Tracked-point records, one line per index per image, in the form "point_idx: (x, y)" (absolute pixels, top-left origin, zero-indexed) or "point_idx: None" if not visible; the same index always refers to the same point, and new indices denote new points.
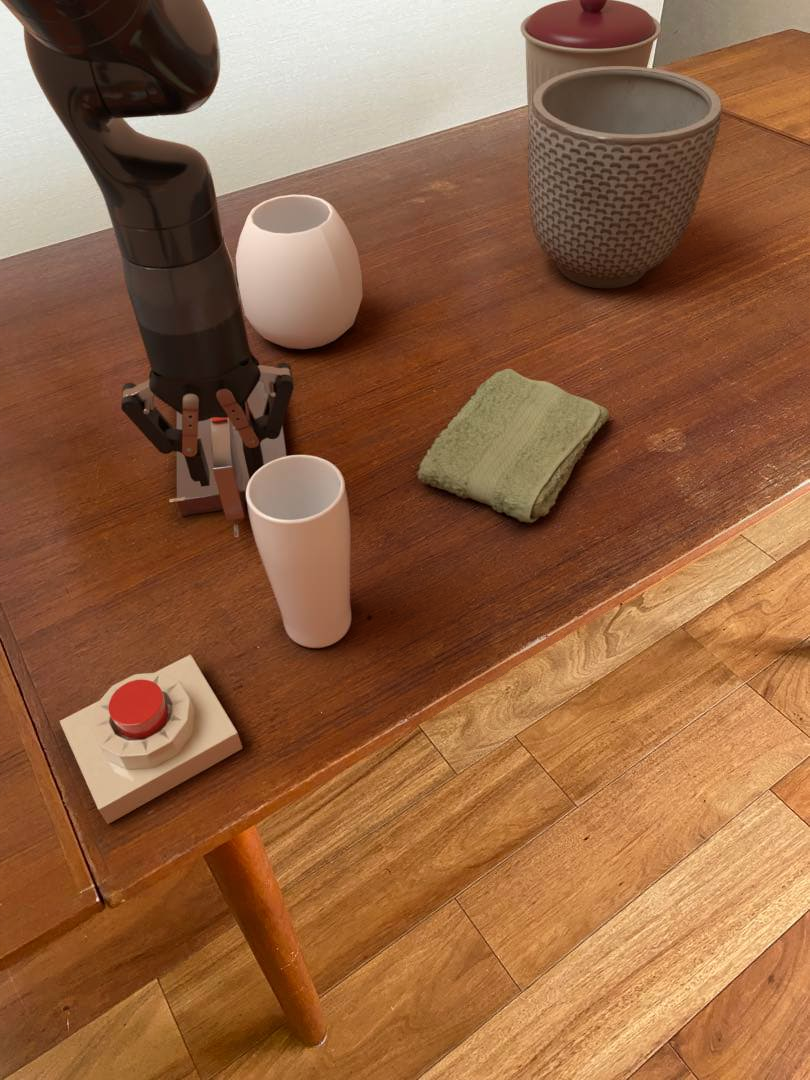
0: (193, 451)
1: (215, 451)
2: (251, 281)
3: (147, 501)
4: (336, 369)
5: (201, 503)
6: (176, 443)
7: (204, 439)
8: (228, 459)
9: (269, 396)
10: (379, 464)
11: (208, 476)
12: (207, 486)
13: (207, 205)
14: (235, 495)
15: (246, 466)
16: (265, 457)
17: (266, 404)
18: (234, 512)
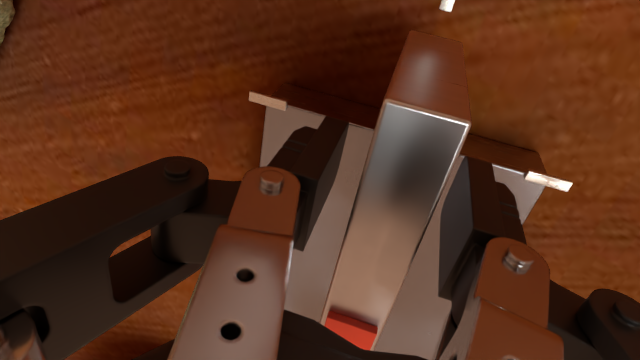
0: (502, 251)
1: (418, 212)
2: None
3: (585, 231)
4: (160, 320)
5: (487, 152)
6: (561, 314)
7: (403, 305)
8: (385, 146)
9: (95, 317)
10: (107, 96)
11: (455, 184)
12: None
13: None
14: (414, 55)
15: (346, 198)
16: None
17: (148, 294)
18: (433, 42)
